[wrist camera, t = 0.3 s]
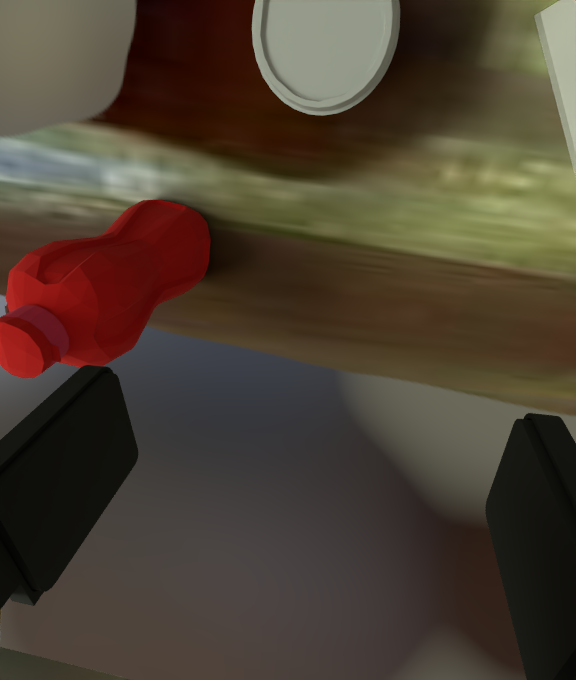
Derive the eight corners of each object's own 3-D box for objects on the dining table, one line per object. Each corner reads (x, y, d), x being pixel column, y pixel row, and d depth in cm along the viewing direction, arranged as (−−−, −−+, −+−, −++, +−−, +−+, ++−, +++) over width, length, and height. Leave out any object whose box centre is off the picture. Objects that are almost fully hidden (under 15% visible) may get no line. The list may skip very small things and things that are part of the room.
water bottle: (122, 187, 45) (-103, 264, 24) (216, 209, 45) (68, 308, 23) (125, 264, 50) (-60, 384, 29) (210, 285, 50) (83, 424, 28)
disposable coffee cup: (296, 122, 39) (266, 130, 29) (273, -3, 34) (229, -46, 24) (399, 97, 36) (407, 96, 26) (389, -42, 32) (393, -107, 22)
